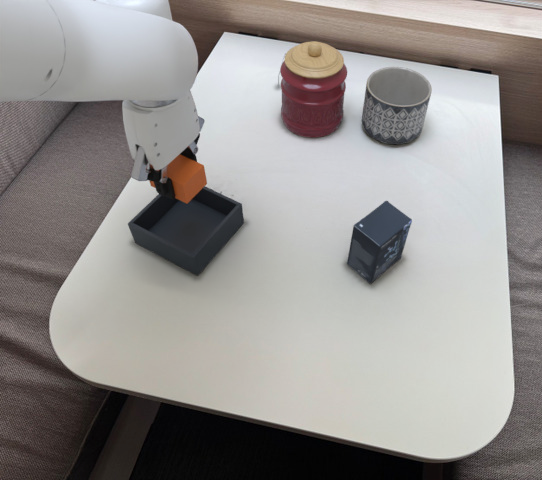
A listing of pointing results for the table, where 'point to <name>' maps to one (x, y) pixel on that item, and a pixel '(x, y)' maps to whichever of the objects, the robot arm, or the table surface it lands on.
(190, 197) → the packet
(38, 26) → the robot arm
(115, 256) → the table surface
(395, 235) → the box
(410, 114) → the planter
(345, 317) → the table surface
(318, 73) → the kitchen canister
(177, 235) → the tray
